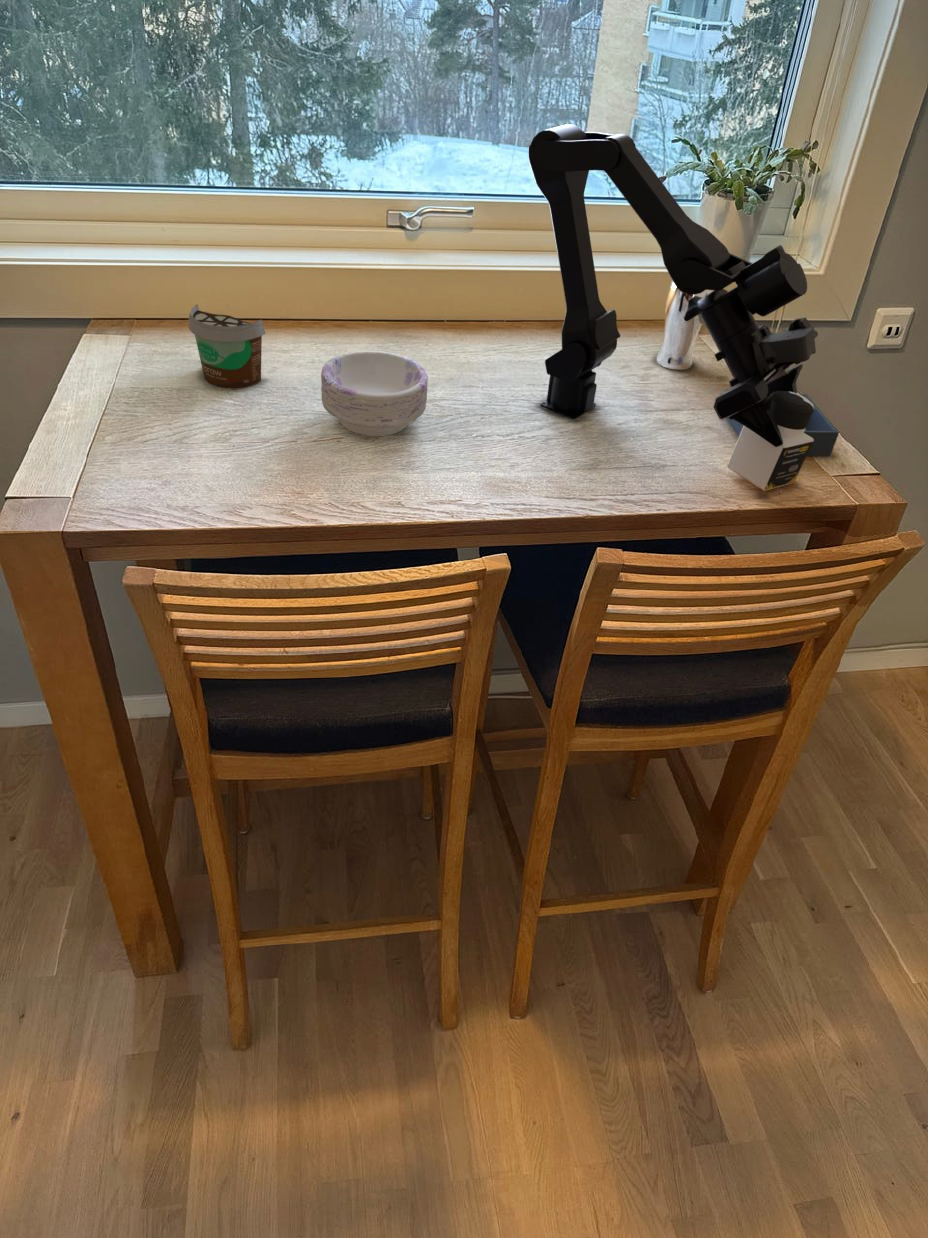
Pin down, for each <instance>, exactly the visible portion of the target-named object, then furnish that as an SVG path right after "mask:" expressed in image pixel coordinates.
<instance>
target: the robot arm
mask: <svg viewBox="0 0 928 1238" xmlns="http://www.w3.org/2000/svg"><path fill="white" fill-rule="evenodd" d="M531 140H532V141H531V143H530V144H529V145H528V149H527V156H528V157H527V158H528V163H529V166H530V169H531V172H532V175H533V178H534V182H535V185H536V187H537V188H538V189H539V191H540V192H541V194H542V195H543V197H544V198H545V200H546V201H547V204H548V207H549V211H550V216H551V217H550V218H551V223H552V229H553V235H554V242H555V246H556V253H557V259H558V264H559V265H558V266H559V271H560V277H561V283H562V290H563V296H564V302H565V313H564V314H565V315H564V318H563V322H562V328H561V349H560V350H558V351H557V352H555V353H553V354H552V355H551V356H549V357H548V358H546V359H545V360H544V365H545V371H546V374H547V375H548V376H549V380H548V388H547V395H546V399H545V400H543V401H542V402H540V407H541V408H543V409H545V410H548V411H550V412H553V413H556V414H558V415H561V416H563V417H566V418H568V419H570V420H578V418H581V417H582V416H583V415H586V414H587V413H589V412H590V411H592V410H593V409H595V408H596V403H595V398H596V393H597V388H598V385H597V383H596V377H597V372H595V371H593V370H594V369H596V368H597V367H600V366H601V365H602V363H603V362H604V361H605V360H607V359H608V358H610V357H611V356H612V355H613V354H614V353H615V350H617V346H618V339H619V338H621V333H620V332H619V329H618V325H617V324H618V323H617V322H618V321H617V311H616V310H615V309H612V310H609V311H607V309H606V308H605V306H604V305H603V304H602V302H601V300H600V296H599V288H598V283H597V275H596V269H595V263H594V262H595V261H594V255H593V250H592V249H593V248H592V241H591V236H590V228H589V221H588V215H587V208H586V202H585V190H586V187H587V182H588V177H589V173H590V171H603V172H604V173H605V174H606V176H608V178H609V179H610V180H611V183H613V184H614V186H615V187H616V188H617V190H618V191H619V192H620V194H621V195H622V196H623V198H624V199H625V201H626V202H627V203H628V204H629V205H630V207H631V209H632V210H633V211H634V212H635V214H636V215H637V216H638V218H639V220H641V221H642V223H643V224H644V226H645V227H646V228H647V230H648V232H650V233H651V235H652V236H653V238H654V239H655V240H656V242H657V244H658V246H659V248H660V252H661V257H662V261H663V265H664V267H665V269H666V271H667V272H668V275H669V276H670V278H671V281H672V280H673V282H674V284H675V286H676V287H677V288H678V289H679V290H680V291H681V292H683V293H684V294H693V295H695V294H699V293H702V292H703V291H705V290H712V292H711V293H710V294H708V295H706V296H705V297H703V298H702V297H698V296H694V297H692V298H691V299H689V300H688V308H687V311H686V313H685V316H684V320H685V321H689V320H690V319H692V318H694V317H695V316H697V315H699V314H700V316H701V318H702V320H703V324H704V325H705V327H706V329H707V331H708V333H709V335H710V336H711V338H712V340H713V342H714V344H715V346H716V348H717V349H718V351H717V352H715V354H714V357H715V359H716V361H717V362H719V361H721V360H723V361H724V363H725V365H726V367H727V368H728V370H729V372H730V374H731V376H732V378H731V379H730V380H729V381H728V384H729V385H730V387H728V388H727V389H725V390H724V391H723V392H721V393H720V394H719V395H718V396H717V397H716V398H715V399H714V400H715V401H714V404H713V410H714V411H715V413H716V415H717V417H718V419H719V420H720V421H722V420H724V419H726V417H728V418H729V419H730V420H732V419H734V420H735V421H737V422H739V423H740V424H742V425H744V426H745V427H747V428H749V429H750V430H752V431H753V432H755V433H756V434H758V435H759V436H760V437H762V438H763V439H765V440H766V441H768V442H769V443H770V444H772V445H773V446H775V447H778V446H780V445H782V444H783V440H782V437H781V433H780V431H779V428H778V425H777V423H776V420H775V418H774V415H773V412H772V410H771V403H772V400H773V396H774V392H776V391H790V392H794V393H797V394H798V388H797V387H798V386H797V380H798V378H799V376H800V373H801V371H802V369H803V367H804V364H801V363H804V362H807V361H808V360H810V358H811V356H812V355H813V354H814V355H815V354H816V353H817V348H816V340H815V339H816V338H817V337H818V335H819V333H818V331H817V330H816V329H815V325H812V324H811V323H810V322H809V320H808V319H807V317H799V318H795V319H793V320H792V321H791V322H790V323H789V326H788V329H783V330H782V331H779V332H774V333H772V331H771V330H770V327H769V326H768V325H765V323H764V324H762V325H758V322H757V320H756V318H755V317H754V315H758V316H760V317H766V316H768V315H770V314H771V313H774V312H776V311H777V310H779V309H781V308H782V307H784V306H786V305H788V304H790V303H792V302H793V301H795V300H797V299H799V298H800V297H802V296H804V295H805V294H806V293H807V291H808V280H807V277H806V273H805V271H804V268H803V267H802V265H801V263H799V262H798V261H796V259H795V258H794V257H793V256H792V255H791V254H789V253H787V252H786V251H785V249H784V247H783V245H782V244H779V245H778V246H775V247H774V248H773V249H771V250H769V251H767V252H766V253H765V254H764V255H763V256H762V257H761V258H759V259H758V260H755V261H754V262H750V261H748V260H746V259H743V258H741V257H739V256H737V255H735V254H733V253H730V252H729V250H728V248H727V247H726V246H725V244H724V243H723V242H722V241H720V239H719V238H717V237H716V236H715V235H714V234H713V233H712V232H711V231H710V230H708V229H707V228H706V227H704V226H702V225H701V224H699V223H697V222H695V221H694V220H692V219H691V217H689V216H688V215H687V213H685V211H684V210H683V208H682V207H681V206H680V205H679V203H678V202H677V201H676V198H674V196H673V195H672V194H671V192H670V191H669V190H668V188H667V187H666V186H665V185H664V183H663V182H662V181H661V179H660V178H659V177H658V175H657V174H656V172H655V171H654V170H653V169H652V167H651V165H649V163H648V162H647V160H646V159H645V158H644V157H643V155H642V154H641V152H640V151H639V150H638V148H637V147H636V143H635V140H634V139H633V138H632V137H631V136H630V135H628V134H625V133H617V134H611V133H605V132H598V131H597V132H595V131H584V130H582V128H580V127H579V126H578V125H575V124H573V123H565V124H563V125H559V126H554V127H550V128H548V129H543V130H542V131H540V132H538V133H536V135H535V136H534V137H533V138H532V139H531ZM733 283H735V284H736V286H735V287H733V288H732V289H730V290H726V288H727V287H728V286H730V285H732V284H733ZM794 364H795V365H796V366H795V367H793V365H794Z"/></svg>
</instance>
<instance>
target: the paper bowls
mask: <svg viewBox="0 0 928 1238" xmlns="http://www.w3.org/2000/svg"><path fill="white" fill-rule="evenodd" d="M320 378H321V379H320V382H321V389H320V390H321V402H322V406H323V408H324V410H326V412H327V413H328V414H330V416H332V417H334V418H336V419H337V420H338V421H339V423H340V424H341V425H342V426H343V427H344V428H346V429H347V430H348V431H350V432H353V433H355V434H358V435H362V436H368V437H386V436H391V435H394V434H397V433H399V432H401V431H403V430H405V428H407V426H408V425H409V424H410V423H412V422H415V421H417V420H418V419H419V418H420V417H421V416H422V415H423V414H424V413H425V411H426V409H427V402H428V401H427V400H428V387H429V386H428V385H429V375H428V373H427V371H426V369H425V368H424V367H423V366H422V365H421V364H420V363H418V362H416V361H414V360H413V359H411V358H409V357H406V356H403V355H401V354H398V353H392V352H387V351H377V350H359V351H351V352H346V353H342V354H339V355H336V356H333V357H332V358H330V359H329V360H328V361H327V362H325V364H324V365H323V366H322V368H321V374H320Z"/></svg>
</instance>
